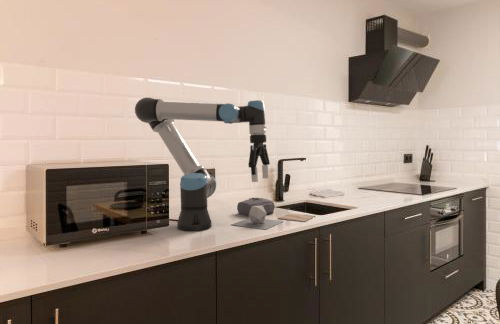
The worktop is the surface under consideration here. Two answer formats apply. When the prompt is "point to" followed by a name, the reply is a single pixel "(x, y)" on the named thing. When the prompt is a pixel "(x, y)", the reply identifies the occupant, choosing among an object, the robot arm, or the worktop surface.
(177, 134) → the robot arm
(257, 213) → the die
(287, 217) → the walnut pad
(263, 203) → the grey rounded bag
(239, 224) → the tile
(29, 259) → the worktop surface
